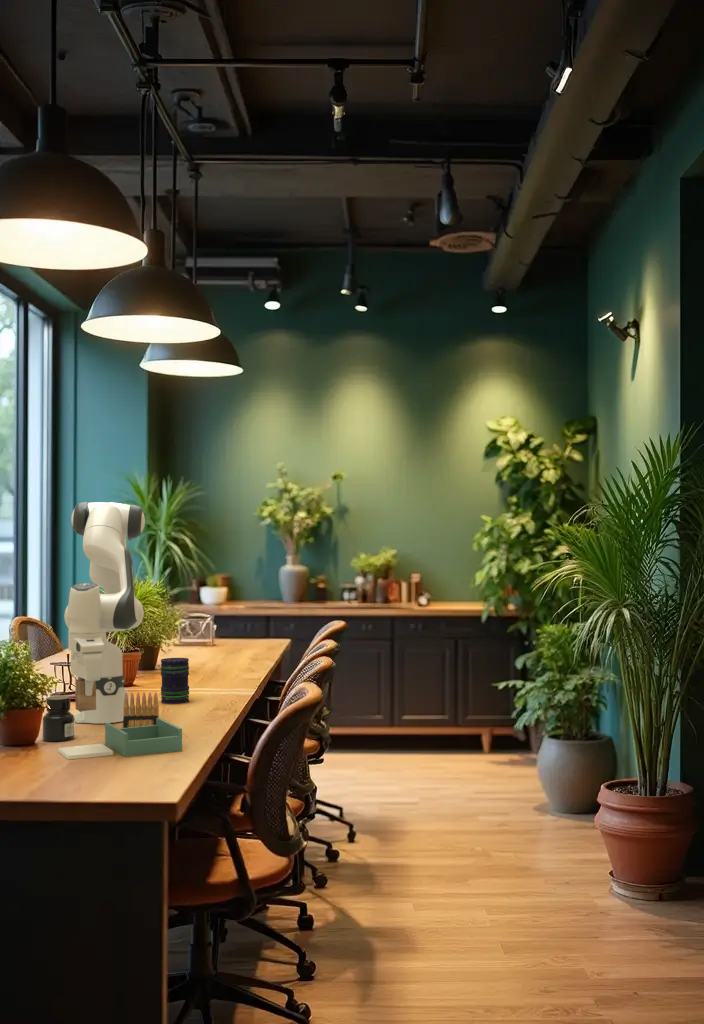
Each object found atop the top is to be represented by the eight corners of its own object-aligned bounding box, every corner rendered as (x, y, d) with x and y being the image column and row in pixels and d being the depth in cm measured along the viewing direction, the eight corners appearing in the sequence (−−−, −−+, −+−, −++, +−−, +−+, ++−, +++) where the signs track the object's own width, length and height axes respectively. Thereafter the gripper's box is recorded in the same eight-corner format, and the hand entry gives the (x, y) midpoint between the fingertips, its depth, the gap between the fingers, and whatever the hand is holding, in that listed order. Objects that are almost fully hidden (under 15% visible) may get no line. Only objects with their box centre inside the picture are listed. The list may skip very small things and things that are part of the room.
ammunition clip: (159, 731, 327) (159, 691, 327) (158, 732, 325) (158, 692, 325) (123, 732, 327) (123, 692, 327) (122, 733, 325) (122, 693, 325)
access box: (105, 743, 309) (105, 722, 309) (159, 738, 316) (159, 717, 316) (124, 756, 291) (124, 734, 291) (182, 750, 299) (182, 728, 299)
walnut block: (75, 708, 297) (75, 679, 298) (91, 707, 300) (91, 678, 300) (79, 711, 293) (79, 681, 294) (96, 709, 296) (95, 680, 296)
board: (58, 751, 299) (58, 747, 299) (101, 747, 304) (101, 743, 304) (68, 759, 288) (68, 755, 288) (113, 754, 294) (113, 751, 294)
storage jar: (191, 699, 388) (191, 657, 388) (186, 704, 378) (186, 661, 378) (163, 699, 388) (163, 657, 388) (158, 704, 378) (157, 661, 378)
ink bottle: (74, 741, 313) (74, 699, 314) (42, 743, 311) (42, 701, 311) (73, 735, 323) (73, 694, 323) (42, 737, 320) (42, 696, 320)
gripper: (64, 640, 305) (65, 690, 304) (82, 647, 286) (83, 699, 286) (87, 639, 307) (87, 688, 307) (106, 645, 289) (106, 697, 289)
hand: (85, 694), depth 297 cm, fingers closed on walnut block, 4 cm apart
